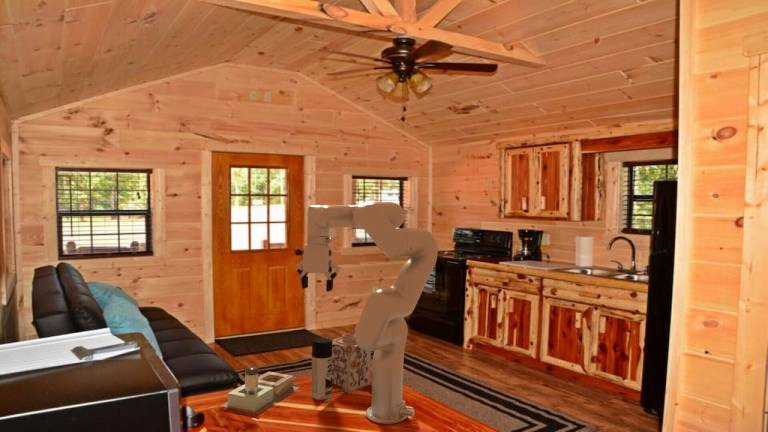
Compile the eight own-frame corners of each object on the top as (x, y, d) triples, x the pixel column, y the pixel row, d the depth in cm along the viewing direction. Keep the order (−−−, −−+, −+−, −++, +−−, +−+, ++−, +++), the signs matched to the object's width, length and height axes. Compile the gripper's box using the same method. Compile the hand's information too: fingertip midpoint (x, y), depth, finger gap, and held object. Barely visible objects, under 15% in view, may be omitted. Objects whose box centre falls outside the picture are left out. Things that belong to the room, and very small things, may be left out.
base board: (299, 391, 185) (299, 387, 184) (258, 418, 162) (258, 414, 162) (265, 385, 190) (265, 380, 190) (220, 410, 168) (220, 405, 168)
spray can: (328, 405, 174) (329, 343, 173) (308, 402, 175) (309, 342, 174) (334, 397, 181) (335, 338, 180) (314, 395, 182) (315, 336, 181)
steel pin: (260, 401, 172) (261, 367, 171) (252, 406, 168) (253, 371, 167) (249, 399, 173) (250, 365, 172) (241, 403, 169) (242, 369, 169)
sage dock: (273, 399, 173) (273, 387, 173) (254, 411, 164) (254, 398, 164) (247, 394, 177) (247, 382, 177) (227, 405, 168) (227, 393, 168)
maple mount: (293, 387, 184) (293, 375, 184) (276, 397, 175) (276, 385, 175) (268, 382, 188) (268, 371, 188) (251, 392, 179) (251, 380, 179)
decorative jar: (324, 385, 191) (325, 335, 190) (347, 376, 200) (348, 329, 199) (348, 394, 184) (350, 342, 183) (371, 385, 193) (372, 335, 192)
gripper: (345, 241, 188) (344, 290, 189) (301, 238, 194) (301, 285, 195) (335, 243, 181) (334, 293, 182) (290, 240, 187) (289, 288, 188)
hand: (317, 289), depth 188 cm, fingers open, 9 cm apart
